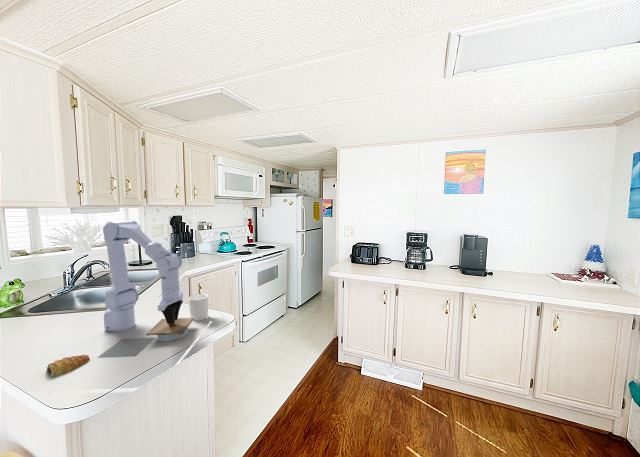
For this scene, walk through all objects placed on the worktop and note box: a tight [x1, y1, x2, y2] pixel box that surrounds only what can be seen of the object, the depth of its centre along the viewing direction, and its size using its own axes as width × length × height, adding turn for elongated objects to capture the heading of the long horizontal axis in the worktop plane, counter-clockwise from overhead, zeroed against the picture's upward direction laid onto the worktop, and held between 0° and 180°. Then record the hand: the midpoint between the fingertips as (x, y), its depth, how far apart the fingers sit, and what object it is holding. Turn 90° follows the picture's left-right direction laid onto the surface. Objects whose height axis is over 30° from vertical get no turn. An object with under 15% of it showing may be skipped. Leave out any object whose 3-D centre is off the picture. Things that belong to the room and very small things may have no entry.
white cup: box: [187, 293, 209, 322], centre depth 113 cm, size 8×8×10 cm
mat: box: [96, 336, 157, 359], centre depth 89 cm, size 12×12×1 cm
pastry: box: [46, 354, 90, 378], centre depth 78 cm, size 9×7×4 cm
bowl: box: [156, 327, 189, 342], centre depth 98 cm, size 10×10×3 cm
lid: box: [146, 317, 194, 336], centre depth 97 cm, size 12×12×5 cm
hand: (172, 321), depth 97 cm, fingers closed on lid, 2 cm apart
